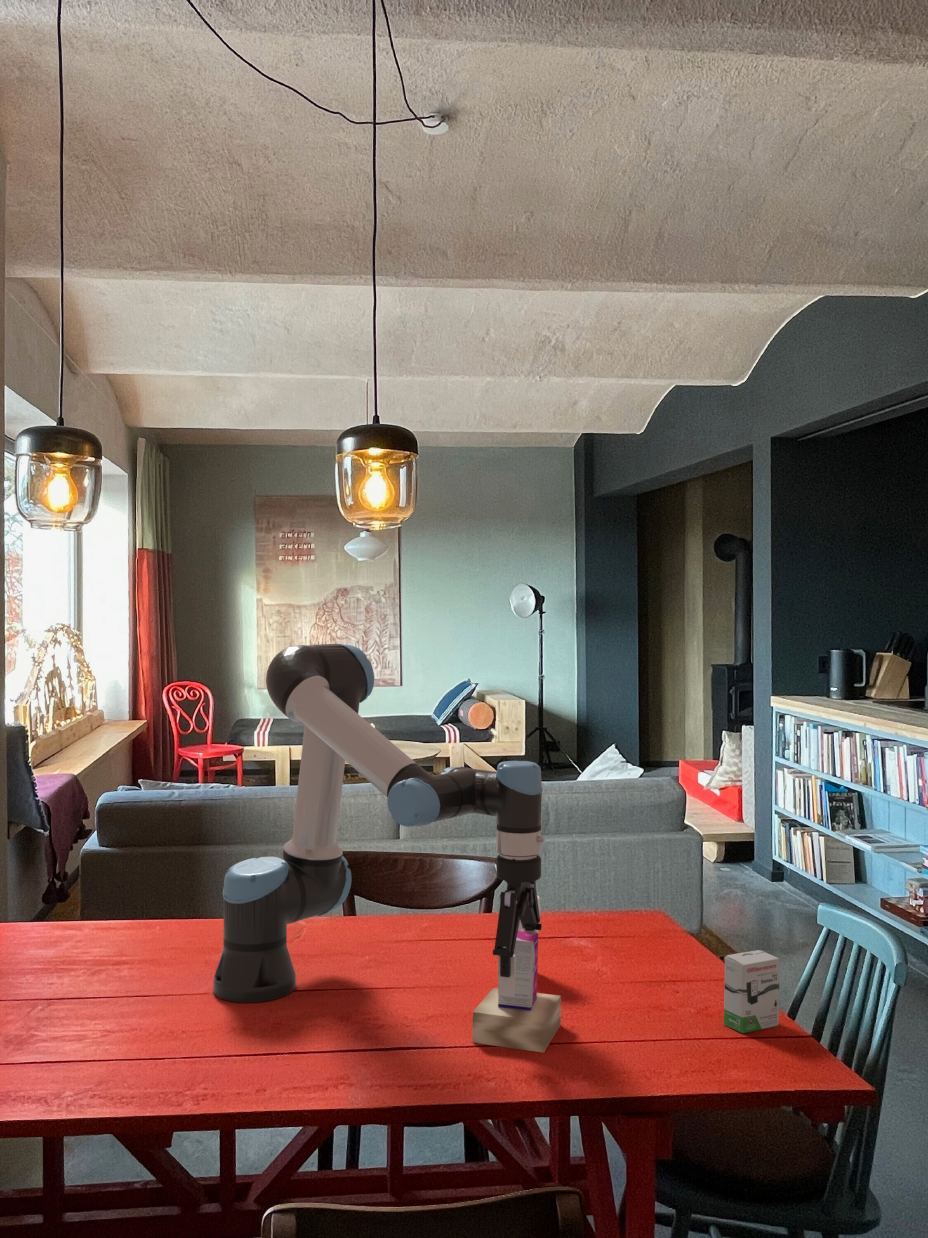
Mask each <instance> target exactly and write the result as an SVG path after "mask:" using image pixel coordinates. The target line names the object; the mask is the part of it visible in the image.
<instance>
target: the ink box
mask: <svg viewBox="0 0 928 1238" xmlns="http://www.w3.org/2000/svg"><path fill="white" fill-rule="evenodd" d="M780 963H781V959H780V958H778V957H777V956H775V955H772V954H769V953H768V952H766V951H764V950H760V949H757V950H751V951H746V952H743V951H742V952H738V953H733V954H727V955H726V956H725V957H724V990H723V991H724V992H723V993H724V994H723V996H724V997H723V1009H724V1010H723V1026H726V1027H728V1028H730V1029H732V1030H735V1031H736V1032H738V1033H741V1034H748V1033H752V1032H756V1031H760V1030H761V1031H762V1030H765V1029H769V1028H773V1027H778V1026H779V1025H780V1024H779V1022H780V1021H779V1019H780V976H781V975H780V972H781V970H780V968H781V967H780V966H781V964H780Z"/></svg>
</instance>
